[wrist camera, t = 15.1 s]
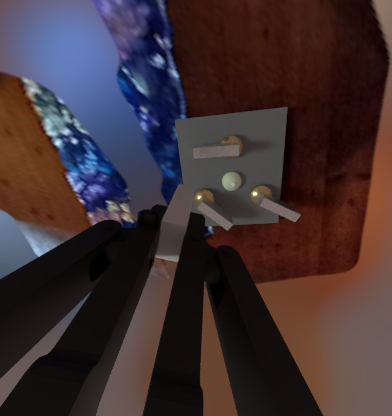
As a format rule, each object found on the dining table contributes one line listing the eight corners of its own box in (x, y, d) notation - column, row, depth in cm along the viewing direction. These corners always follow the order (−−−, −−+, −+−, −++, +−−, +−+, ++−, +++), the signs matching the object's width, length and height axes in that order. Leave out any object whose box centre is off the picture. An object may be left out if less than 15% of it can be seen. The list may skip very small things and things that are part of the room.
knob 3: (246, 198, 42) (250, 208, 37) (256, 181, 40) (263, 189, 35) (281, 215, 43) (291, 227, 38) (293, 198, 41) (305, 209, 36)
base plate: (176, 120, 39) (173, 119, 36) (283, 107, 37) (290, 106, 34) (190, 223, 48) (188, 229, 46) (275, 218, 46) (279, 225, 43)
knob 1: (241, 134, 37) (246, 136, 32) (241, 157, 39) (245, 162, 34) (194, 138, 38) (192, 140, 33) (196, 160, 40) (194, 165, 35)
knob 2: (190, 199, 43) (188, 209, 38) (202, 184, 42) (201, 193, 37) (222, 221, 45) (223, 234, 40) (234, 208, 43) (237, 220, 38)
